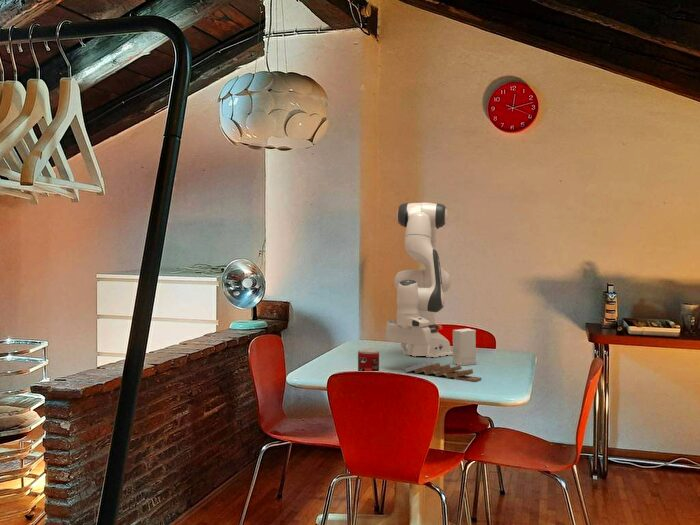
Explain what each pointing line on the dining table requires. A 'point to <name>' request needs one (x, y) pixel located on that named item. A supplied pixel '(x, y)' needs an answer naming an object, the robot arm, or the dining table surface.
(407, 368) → the domino
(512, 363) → the dining table surface
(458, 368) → the domino
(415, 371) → the domino
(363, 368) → the canned food
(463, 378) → the domino
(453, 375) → the domino
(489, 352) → the dining table surface
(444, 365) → the domino
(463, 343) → the skincare box
